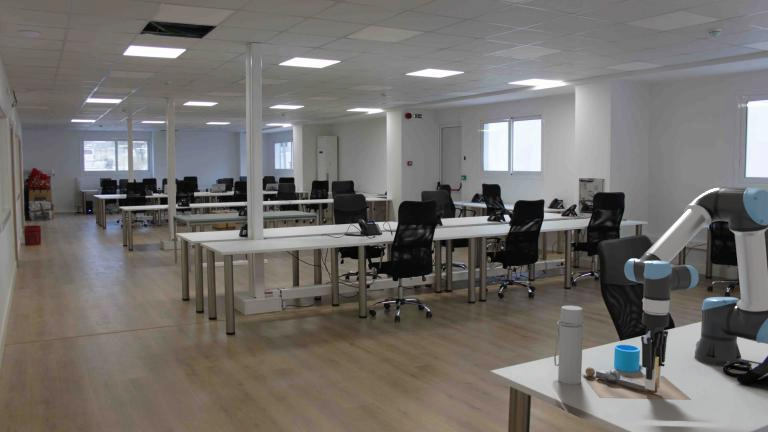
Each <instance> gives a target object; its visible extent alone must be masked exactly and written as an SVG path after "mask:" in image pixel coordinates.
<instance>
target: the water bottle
mask: <svg viewBox="0 0 768 432" xmlns="http://www.w3.org/2000/svg"><path fill="white" fill-rule="evenodd" d="M583 311H584V310H583V308H582V307H581V306H576V305H563V306H561V307H560V314H559V320H557V322H556V323H557V325H558V328H557V329H558V330H557V335H556V344H555V350H554V357H553V358H554V359H553V360H554V361H553V362H554V363H553V364H554V366H555V367H558V369H557V370H558V373H557V380H558V381H559V382H561V383H562V384H566V385H577V384H578V385H579V384H580V383H581V382H582V375H581V374H582V368H583V367H582V364H583V363H582V362H583V339H584V338H583V334H584V332H583V331H584V313H583ZM557 349H558V351H557ZM557 352H558V363H557V358H556V357H557Z"/></svg>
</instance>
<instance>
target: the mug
mask: <svg viewBox="0 0 768 432" xmlns="http://www.w3.org/2000/svg"><path fill="white" fill-rule="evenodd" d="M640 353H641V348H640V347H638V346H635V345H631V344H616V345H614V354H613V356H614V357H613V359H614V360H613V367H614V368H615V369H616V370H619V371H622V372H637V371H639V370H640V360H641V359H640V357H641V354H640Z"/></svg>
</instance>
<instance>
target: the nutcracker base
mask: <svg viewBox="0 0 768 432" xmlns="http://www.w3.org/2000/svg"><path fill="white" fill-rule="evenodd" d="M645 376H646V375H636V374H635V375H630V374H628V375H626V374H620V377H622V378H626V379H629V380H633V381H637V382H640V383H644V384H645ZM581 377H582V378H584V381H586V383H587V384H588V385H589V387H590V388H592V390H593V392H595V394H596V395H597V397H599V398H601V399H641V400H642V399H647V400H683V401H684V400H688V401H690V400H691V397H689V396H688V395H687V394H685V392H683V391H682V390H681V389H680V388H679V387H677V386H676V385H675V384H674V383H673V382H671V380H669V379H668V378H667V377H666V376H665V375H661V377H660V388H657V393H649V392H645V391H642V390H638V389H635V388H631V387H627V386H624V385H620V384H617V383H609V382H606V381H605V380H602V379H598V378H596V370H595V369H594V367H592V366H589V367H587V368H585V374H582V373H581Z"/></svg>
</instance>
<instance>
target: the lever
mask: <svg viewBox="0 0 768 432" xmlns="http://www.w3.org/2000/svg"><path fill="white" fill-rule="evenodd" d="M658 365H659V356H656V357H655V366H654V369H656V375H655V390H654V391H653V390H649V389H645V384H644V383H640V382H637V381H633V380H629V379H626V378H622V377H620V375H621V373H619V372H617V370H614V369H610V370H609V371H606V370H603V369H598V370H595V375H596V378H598V379H602V380H605V381H606V382H609V383H617V384H620V385H624V386H627V387H631V388H635V389H638V390H642V391H645V392H649V393H657V388H658Z"/></svg>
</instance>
